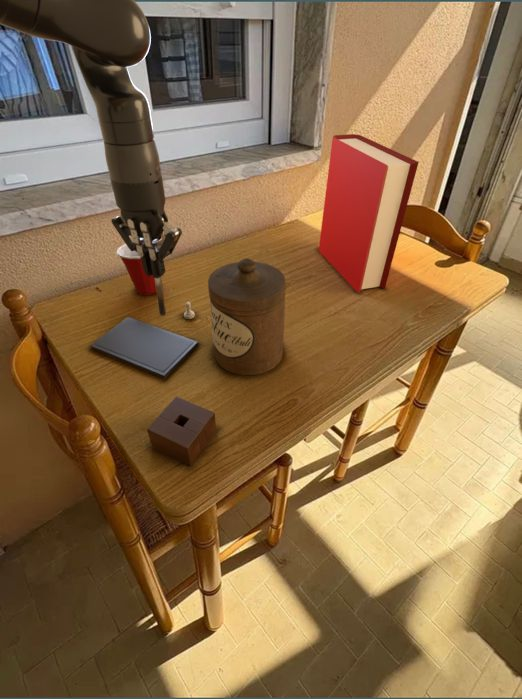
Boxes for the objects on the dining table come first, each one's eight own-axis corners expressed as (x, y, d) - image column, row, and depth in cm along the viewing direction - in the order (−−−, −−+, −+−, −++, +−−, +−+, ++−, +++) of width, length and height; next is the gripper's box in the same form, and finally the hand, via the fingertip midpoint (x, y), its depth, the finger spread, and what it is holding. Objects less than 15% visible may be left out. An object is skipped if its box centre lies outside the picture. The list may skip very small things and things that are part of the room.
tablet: (164, 379, 76) (164, 375, 76) (90, 348, 83) (89, 345, 82) (198, 344, 84) (198, 341, 84) (128, 319, 91) (127, 316, 90)
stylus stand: (190, 466, 62) (187, 448, 58) (151, 447, 64) (146, 428, 61) (216, 430, 67) (214, 412, 64) (179, 414, 69) (176, 396, 66)
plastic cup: (159, 274, 107) (152, 234, 99) (174, 292, 100) (167, 250, 92) (121, 284, 103) (110, 243, 95) (134, 304, 96) (123, 261, 88)
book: (384, 289, 103) (418, 161, 82) (358, 293, 101) (386, 164, 80) (339, 245, 123) (357, 133, 102) (316, 248, 121) (330, 135, 100)
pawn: (187, 320, 91) (185, 306, 88) (182, 315, 93) (180, 301, 90) (196, 316, 92) (195, 303, 90) (191, 311, 94) (190, 298, 91)
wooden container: (201, 346, 84) (191, 255, 69) (256, 323, 91) (257, 235, 76) (238, 386, 75) (235, 291, 60) (296, 357, 82) (305, 266, 67)
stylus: (163, 317, 74) (154, 249, 65) (158, 316, 74) (148, 247, 65) (167, 314, 74) (158, 246, 66) (162, 313, 75) (153, 245, 66)
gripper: (83, 172, 57) (111, 275, 68) (155, 187, 52) (173, 295, 64) (118, 160, 62) (139, 257, 73) (187, 173, 57) (198, 274, 69)
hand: (155, 274), depth 68 cm, fingers closed on stylus, 1 cm apart
